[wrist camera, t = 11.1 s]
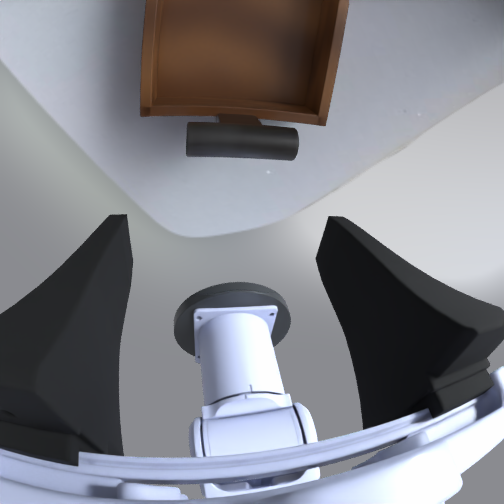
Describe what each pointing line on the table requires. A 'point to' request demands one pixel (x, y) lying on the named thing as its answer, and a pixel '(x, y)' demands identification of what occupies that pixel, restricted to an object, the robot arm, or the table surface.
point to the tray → (241, 70)
